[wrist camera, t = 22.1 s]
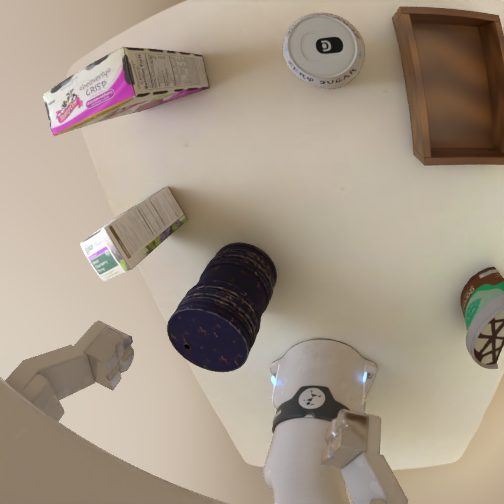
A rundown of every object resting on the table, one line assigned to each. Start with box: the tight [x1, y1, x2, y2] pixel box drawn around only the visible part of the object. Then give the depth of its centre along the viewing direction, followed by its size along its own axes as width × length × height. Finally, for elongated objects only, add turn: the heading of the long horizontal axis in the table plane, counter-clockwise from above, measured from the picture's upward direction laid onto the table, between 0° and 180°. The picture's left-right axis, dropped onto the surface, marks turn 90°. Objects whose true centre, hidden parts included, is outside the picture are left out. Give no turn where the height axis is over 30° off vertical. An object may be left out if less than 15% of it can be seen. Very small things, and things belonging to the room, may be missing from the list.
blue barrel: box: [167, 243, 277, 372], centre depth 41 cm, size 10×10×15 cm
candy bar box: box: [43, 47, 209, 136], centre depth 29 cm, size 11×5×16 cm, turn 103°
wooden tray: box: [392, 7, 504, 165], centre depth 25 cm, size 17×12×6 cm
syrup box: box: [80, 187, 187, 282], centre depth 39 cm, size 6×6×14 cm
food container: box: [461, 267, 504, 369], centre depth 34 cm, size 12×6×10 cm, turn 12°
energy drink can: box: [283, 13, 365, 89], centre depth 24 cm, size 6×6×15 cm
